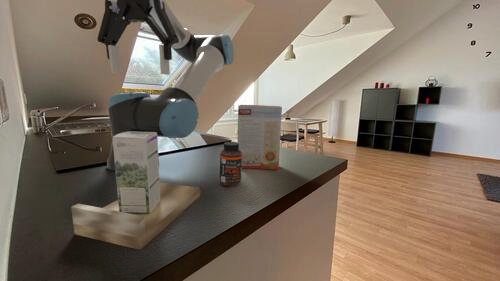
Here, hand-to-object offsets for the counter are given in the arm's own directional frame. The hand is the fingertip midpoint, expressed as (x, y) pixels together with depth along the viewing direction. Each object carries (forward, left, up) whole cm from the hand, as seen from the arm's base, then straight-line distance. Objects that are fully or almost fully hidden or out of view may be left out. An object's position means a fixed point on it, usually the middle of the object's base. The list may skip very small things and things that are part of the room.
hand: (140, 74), depth 56 cm
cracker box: (+26, +23, -28) cm, 45 cm away
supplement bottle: (+22, +6, -28) cm, 36 cm away
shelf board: (+11, -14, -28) cm, 33 cm away
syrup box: (+11, -16, -26) cm, 33 cm away
